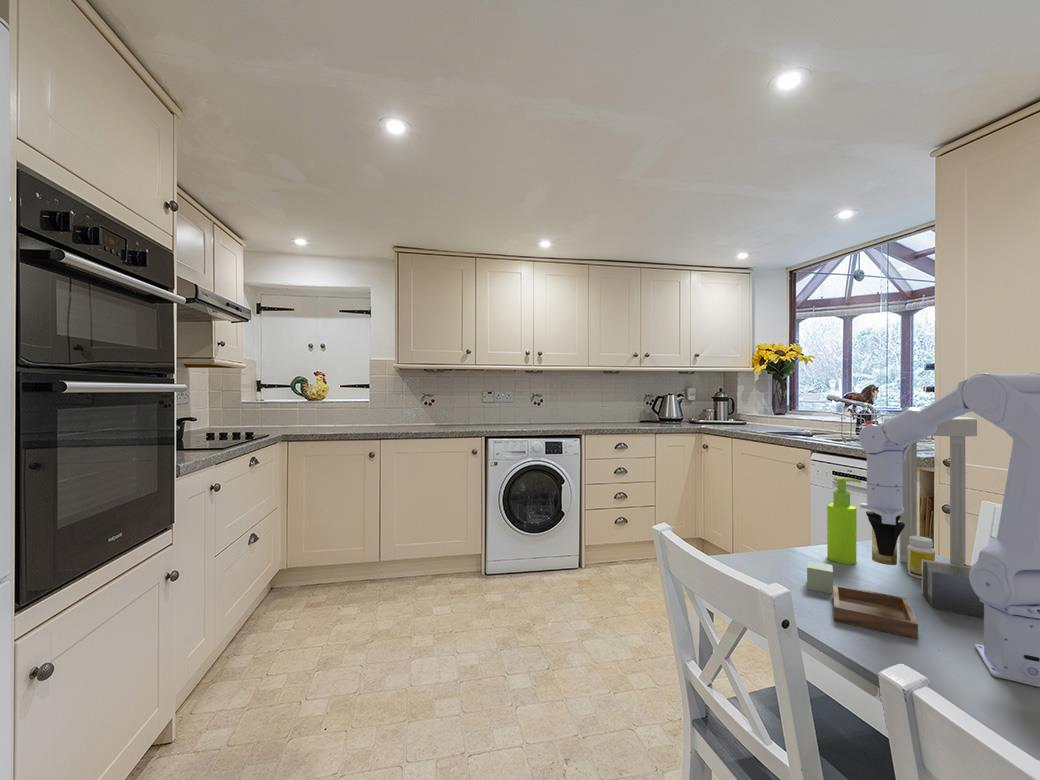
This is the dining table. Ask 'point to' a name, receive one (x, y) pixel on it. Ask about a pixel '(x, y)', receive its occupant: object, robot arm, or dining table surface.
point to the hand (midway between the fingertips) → (884, 551)
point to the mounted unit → (950, 588)
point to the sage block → (820, 577)
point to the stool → (957, 433)
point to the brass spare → (882, 558)
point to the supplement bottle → (918, 554)
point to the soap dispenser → (841, 525)
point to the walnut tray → (874, 611)
